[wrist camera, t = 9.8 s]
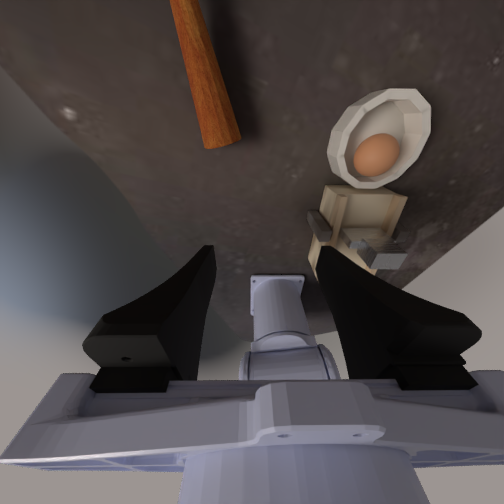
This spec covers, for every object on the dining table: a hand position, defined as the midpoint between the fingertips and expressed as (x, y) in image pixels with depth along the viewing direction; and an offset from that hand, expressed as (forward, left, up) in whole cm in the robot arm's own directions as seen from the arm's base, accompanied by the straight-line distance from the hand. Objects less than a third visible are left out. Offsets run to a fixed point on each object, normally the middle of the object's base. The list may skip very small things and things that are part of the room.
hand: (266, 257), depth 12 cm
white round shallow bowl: (+6, -10, -10) cm, 16 cm away
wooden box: (-3, -10, -10) cm, 15 cm away
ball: (+5, -10, -8) cm, 14 cm away
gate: (-2, -10, -7) cm, 12 cm away
